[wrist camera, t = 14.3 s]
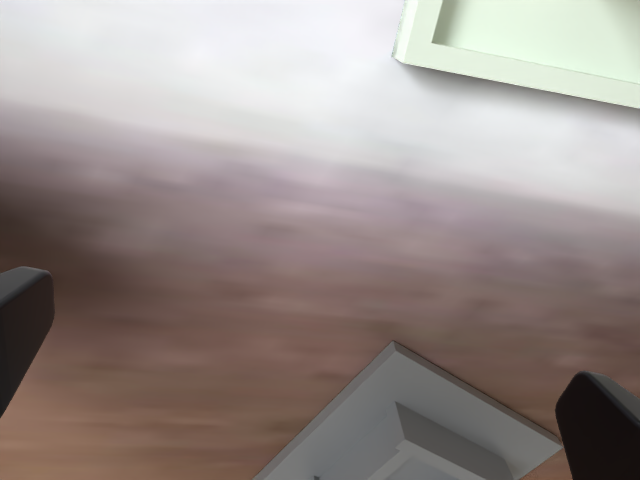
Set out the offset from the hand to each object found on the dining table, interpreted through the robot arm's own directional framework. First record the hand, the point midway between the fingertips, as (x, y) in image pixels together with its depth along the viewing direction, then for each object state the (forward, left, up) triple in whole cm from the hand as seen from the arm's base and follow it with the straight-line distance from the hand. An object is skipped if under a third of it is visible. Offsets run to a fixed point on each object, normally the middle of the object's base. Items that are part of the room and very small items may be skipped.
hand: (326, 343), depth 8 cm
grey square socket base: (+10, -20, -13) cm, 25 cm away
